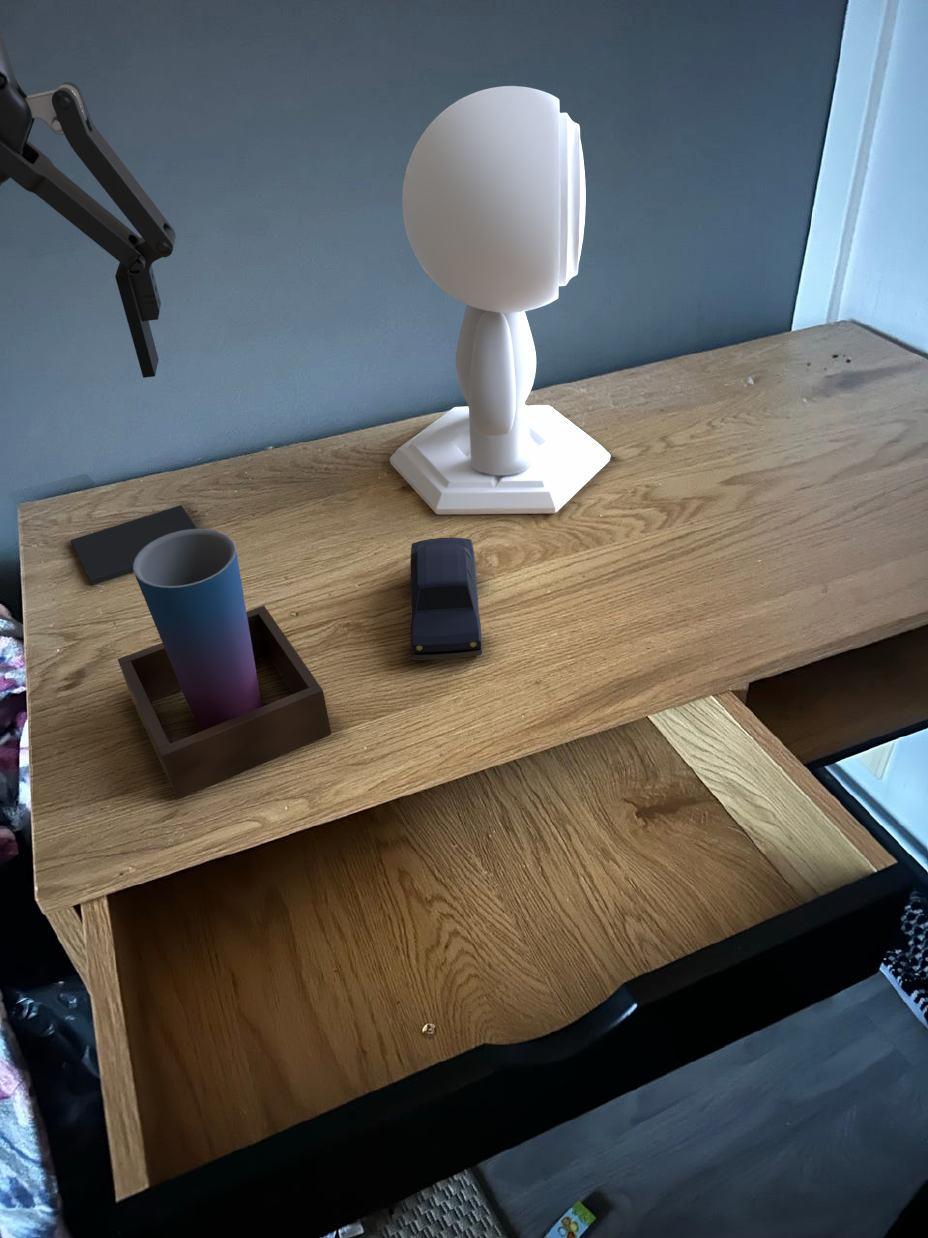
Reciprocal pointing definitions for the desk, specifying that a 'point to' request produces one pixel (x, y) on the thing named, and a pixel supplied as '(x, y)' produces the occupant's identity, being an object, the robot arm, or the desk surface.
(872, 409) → the desk surface
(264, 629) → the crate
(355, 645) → the desk surface
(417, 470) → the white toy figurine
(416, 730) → the desk surface
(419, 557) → the toy car
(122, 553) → the mat
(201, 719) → the cup
